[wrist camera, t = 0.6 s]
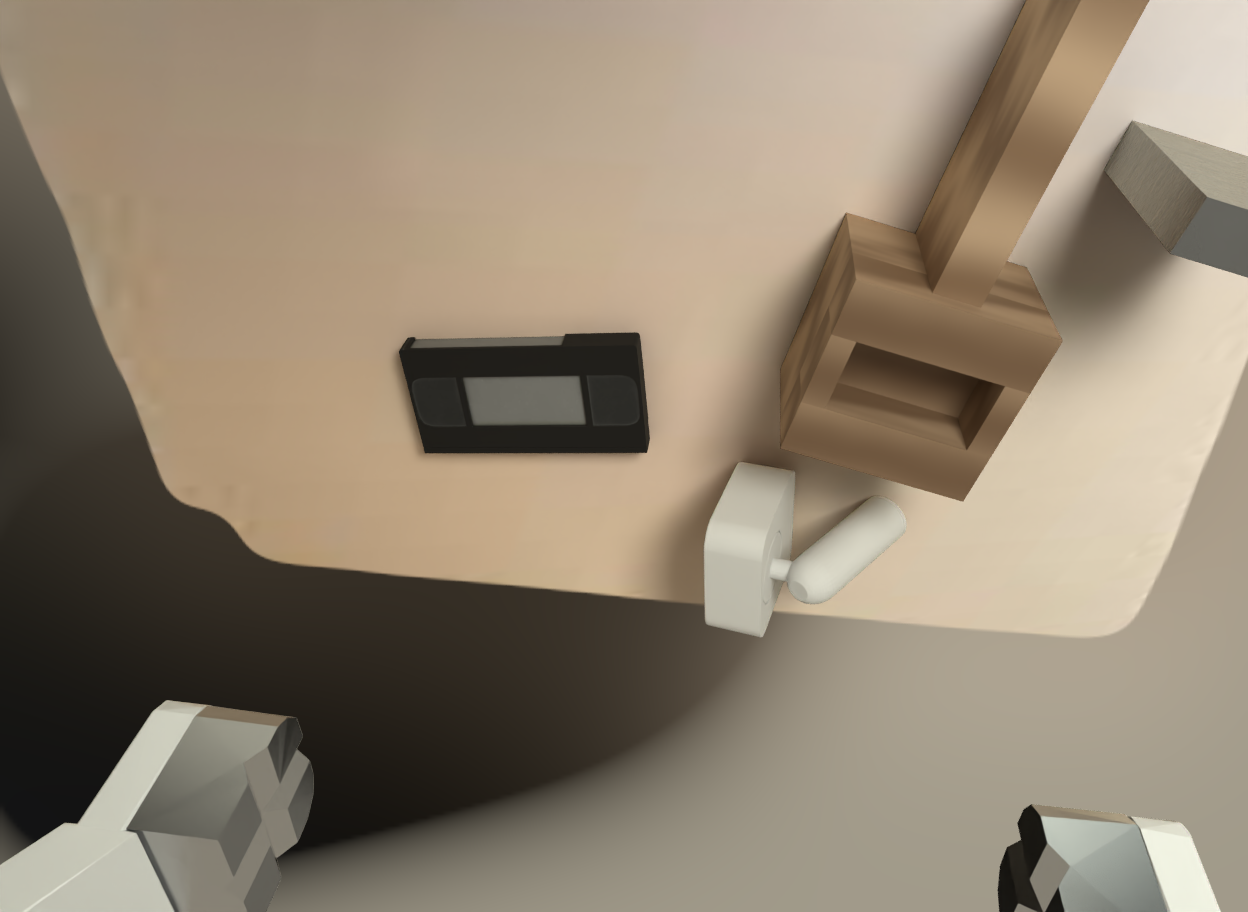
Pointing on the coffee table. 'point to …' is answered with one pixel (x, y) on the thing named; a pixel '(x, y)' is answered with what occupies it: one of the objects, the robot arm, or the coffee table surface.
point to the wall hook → (782, 549)
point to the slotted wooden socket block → (951, 278)
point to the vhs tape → (529, 394)
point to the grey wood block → (1186, 194)
